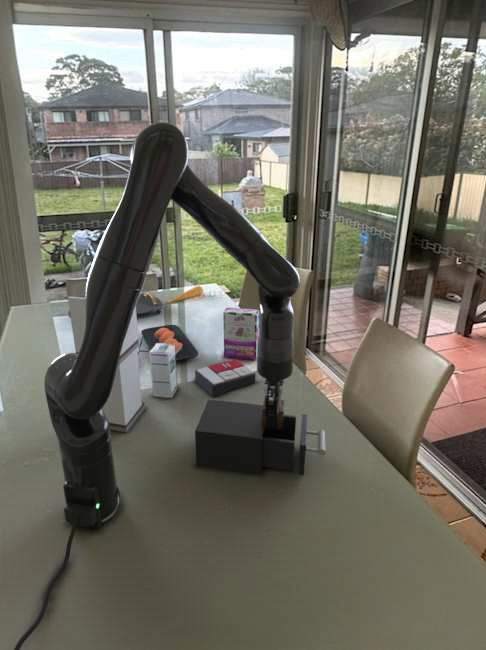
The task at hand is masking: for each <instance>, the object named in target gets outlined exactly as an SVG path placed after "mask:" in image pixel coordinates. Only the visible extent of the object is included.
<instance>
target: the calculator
mask: <svg viewBox="0 0 486 650" xmlns="http://www.w3.org/2000/svg"><path fill="white" fill-rule="evenodd" d="M256 375H257V374H256V373H255V372H254V371H253V370H252V369H250V368H249V367H247V366H246V365H244V364H243V363H241V362H240V361H239V360H237V358H234V359H231V360H227V361H223V362H219V363H216V364H211V365H208V366H205V367H200V368H198V369H195V370H194V381H195V382H196V383H197V384H198V385H199V386H200V387H201V388H203V390H205V391H206V392H207V393H208V394H209V395H210V396H211V397H214V398H215V397H217V396H221V395H224V394H226V393H227V392H229V391H231V390H232V391H233V390H235V389H239V388H242V387H246V386H249V385H252V384H256Z"/></svg>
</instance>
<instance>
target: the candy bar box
mask: <svg viewBox="0 0 486 650" xmlns="http://www.w3.org/2000/svg"><path fill="white" fill-rule="evenodd" d="M259 317H260V309H254V308H241V307H240V308H239V307H226V308H225V310H224V311H223V358H231V359H239V360H241V359H242V360H243V359H244V360H252V361H257V346H258V337H259Z"/></svg>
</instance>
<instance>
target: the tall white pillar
mask: <svg viewBox="0 0 486 650" xmlns="http://www.w3.org/2000/svg"><path fill="white" fill-rule="evenodd" d="M67 301H68V308H69V309H68V310H70V316H71V318H70V322H71V328H72V329H71V330H72V334H73V342H74V350H75V353H79V350H80V347H81V345H82V341H83V337H84V332H85V297H80V296H71V295H70V296H68V297H67ZM139 346H140V341H139V329H138V317H137V315H136V306H135V309H134V312H133V315H132V318H131V322H130V325H129V328H128V331H127V333H126V336H125V339H124V342H123V346H122V349H121V353H120V358H119V362H118V366H117V371H116V375H115V379H114V383H113V387H112V391H111V394H110V396H109V398H108V401H107V402H106V404H105V405H104V407H103V408H102V409H103V411H104V413H105V415H106V417H107V419H108V421H109V427H110V431H112V430H113V431H117V432H123V433H127V432H129V430H130V428H131V427H132V426H133V424H135V422H136V421H137V419H138V418H139V417H140V415H141V414H142V413H143V411H144V410H145V402H143V400H142V399H143V397H142V387H141V377H140V366H139V365H140V364H139V354H138V353H137V352H138V351H139Z"/></svg>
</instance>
